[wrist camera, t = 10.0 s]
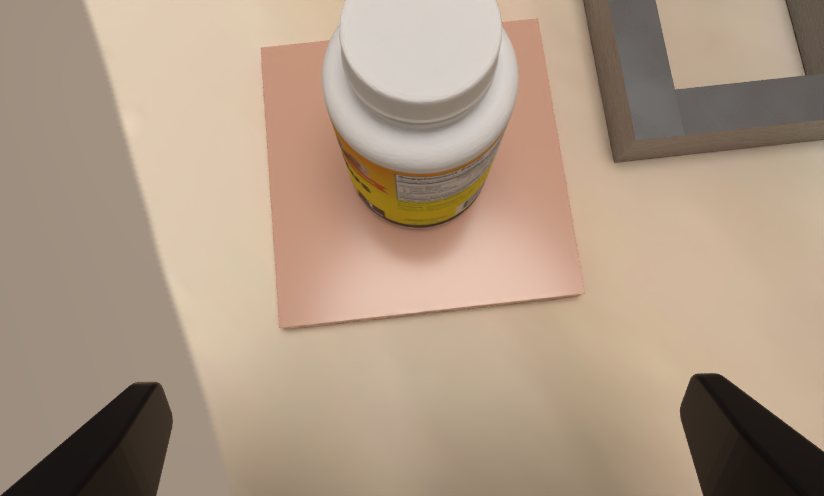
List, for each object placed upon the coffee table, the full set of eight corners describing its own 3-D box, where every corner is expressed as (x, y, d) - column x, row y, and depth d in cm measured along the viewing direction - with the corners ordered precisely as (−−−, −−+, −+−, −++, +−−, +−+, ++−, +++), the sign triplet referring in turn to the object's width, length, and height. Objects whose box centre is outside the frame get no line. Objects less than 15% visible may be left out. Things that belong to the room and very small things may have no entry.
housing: (866, 134, 25) (915, 109, 23) (614, 162, 25) (635, 140, 22) (804, -86, 27) (843, -130, 25) (571, -62, 27) (587, -104, 25)
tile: (577, 296, 24) (584, 293, 23) (285, 329, 24) (279, 327, 23) (533, 31, 26) (537, 18, 25) (266, 59, 26) (260, 47, 25)
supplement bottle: (343, 111, 24) (295, -66, 14) (475, 97, 25) (518, -90, 14) (357, 241, 23) (314, 147, 13) (495, 225, 23) (556, 119, 13)
